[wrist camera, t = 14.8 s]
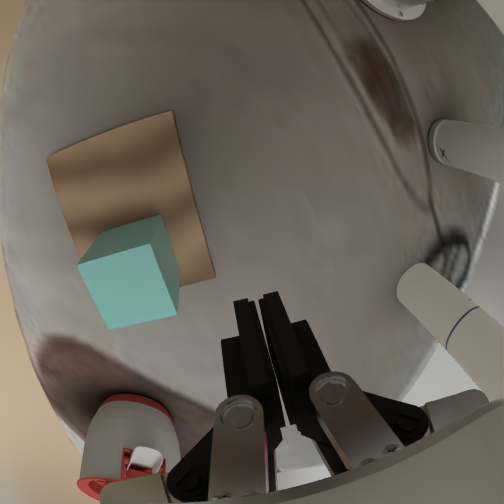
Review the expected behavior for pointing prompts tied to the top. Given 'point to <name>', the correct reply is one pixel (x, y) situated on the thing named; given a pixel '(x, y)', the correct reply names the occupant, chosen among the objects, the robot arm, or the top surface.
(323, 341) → the top surface
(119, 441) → the citrus juicer
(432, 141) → the travel mug
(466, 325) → the cylindrical container
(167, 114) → the board
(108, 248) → the mint green cube
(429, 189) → the top surface
